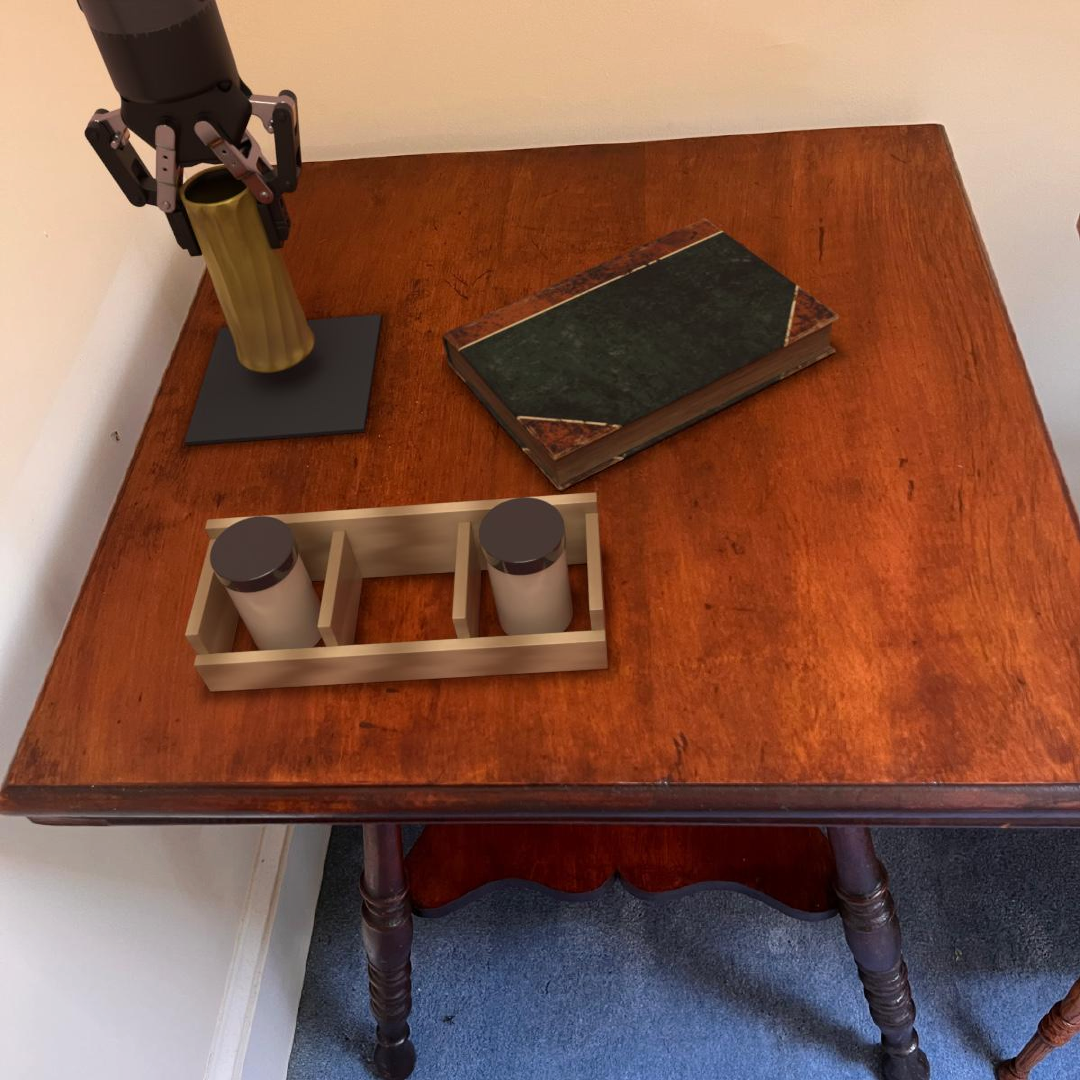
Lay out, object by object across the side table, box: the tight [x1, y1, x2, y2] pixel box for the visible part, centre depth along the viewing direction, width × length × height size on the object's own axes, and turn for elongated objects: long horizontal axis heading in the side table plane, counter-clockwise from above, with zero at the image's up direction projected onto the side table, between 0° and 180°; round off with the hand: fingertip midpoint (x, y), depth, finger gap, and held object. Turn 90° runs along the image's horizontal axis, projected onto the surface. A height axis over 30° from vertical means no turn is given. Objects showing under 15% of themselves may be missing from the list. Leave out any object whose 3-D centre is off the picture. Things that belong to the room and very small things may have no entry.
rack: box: [184, 491, 609, 692], centre depth 64 cm, size 25×9×6 cm, turn 90°
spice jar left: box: [210, 515, 323, 651], centre depth 64 cm, size 5×5×8 cm
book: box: [441, 217, 840, 492], centre depth 80 cm, size 17×4×25 cm
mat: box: [184, 313, 383, 446], centre depth 83 cm, size 14×14×1 cm
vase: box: [180, 164, 315, 373], centre depth 76 cm, size 6×6×14 cm
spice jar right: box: [479, 496, 574, 636], centre depth 63 cm, size 5×5×8 cm
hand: (238, 245), depth 74 cm, fingers closed on vase, 5 cm apart
